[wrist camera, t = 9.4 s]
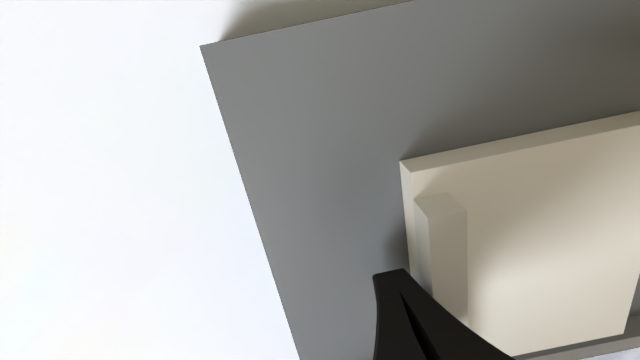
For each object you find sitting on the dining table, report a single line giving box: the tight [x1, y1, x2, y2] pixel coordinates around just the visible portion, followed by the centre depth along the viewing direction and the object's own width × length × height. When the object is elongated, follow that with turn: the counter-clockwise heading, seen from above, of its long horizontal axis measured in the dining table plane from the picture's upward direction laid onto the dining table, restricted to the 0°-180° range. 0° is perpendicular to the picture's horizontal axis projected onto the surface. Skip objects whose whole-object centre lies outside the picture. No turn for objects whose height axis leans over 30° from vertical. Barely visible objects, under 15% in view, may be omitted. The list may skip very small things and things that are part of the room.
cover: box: [399, 111, 640, 356], centre depth 12 cm, size 10×9×2 cm
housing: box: [200, 0, 640, 360], centre depth 13 cm, size 17×21×3 cm
